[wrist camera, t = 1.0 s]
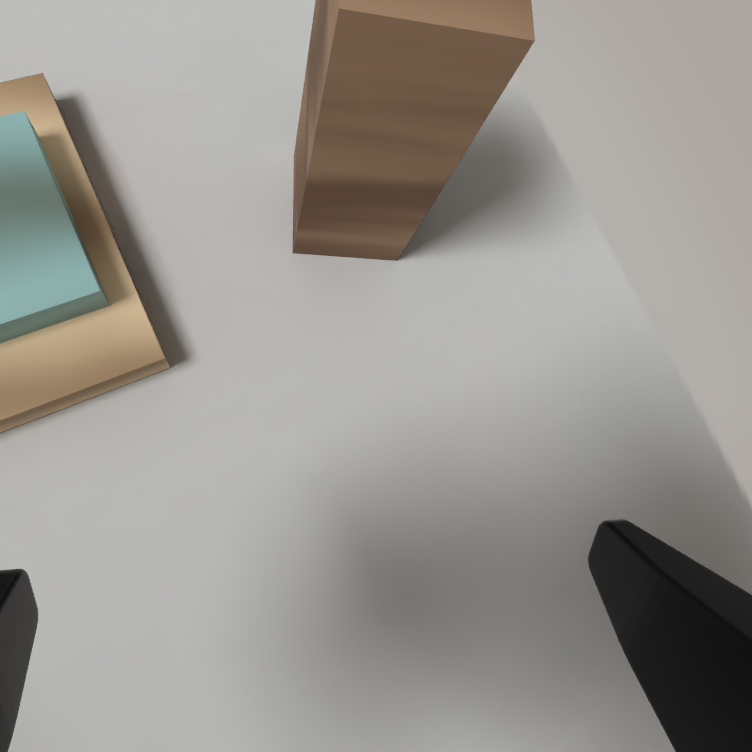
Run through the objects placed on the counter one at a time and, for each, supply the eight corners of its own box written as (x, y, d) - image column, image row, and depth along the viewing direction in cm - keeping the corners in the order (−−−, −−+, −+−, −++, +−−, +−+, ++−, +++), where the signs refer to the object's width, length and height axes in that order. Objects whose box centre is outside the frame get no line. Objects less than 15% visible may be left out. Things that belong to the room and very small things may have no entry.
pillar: (397, 260, 25) (534, 40, 13) (292, 252, 24) (339, 8, 12) (394, 166, 26) (520, -118, 14) (293, 156, 25) (337, -159, 13)
